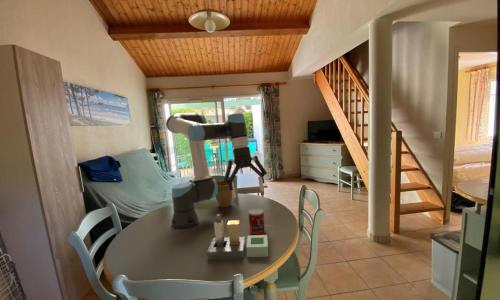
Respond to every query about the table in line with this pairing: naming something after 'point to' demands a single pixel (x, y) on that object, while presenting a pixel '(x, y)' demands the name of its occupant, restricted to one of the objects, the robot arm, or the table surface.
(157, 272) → the table surface
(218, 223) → the white tall bar
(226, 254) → the socket block
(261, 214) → the canned food
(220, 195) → the plant pot
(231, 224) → the tan rectangular block
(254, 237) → the pale green box
